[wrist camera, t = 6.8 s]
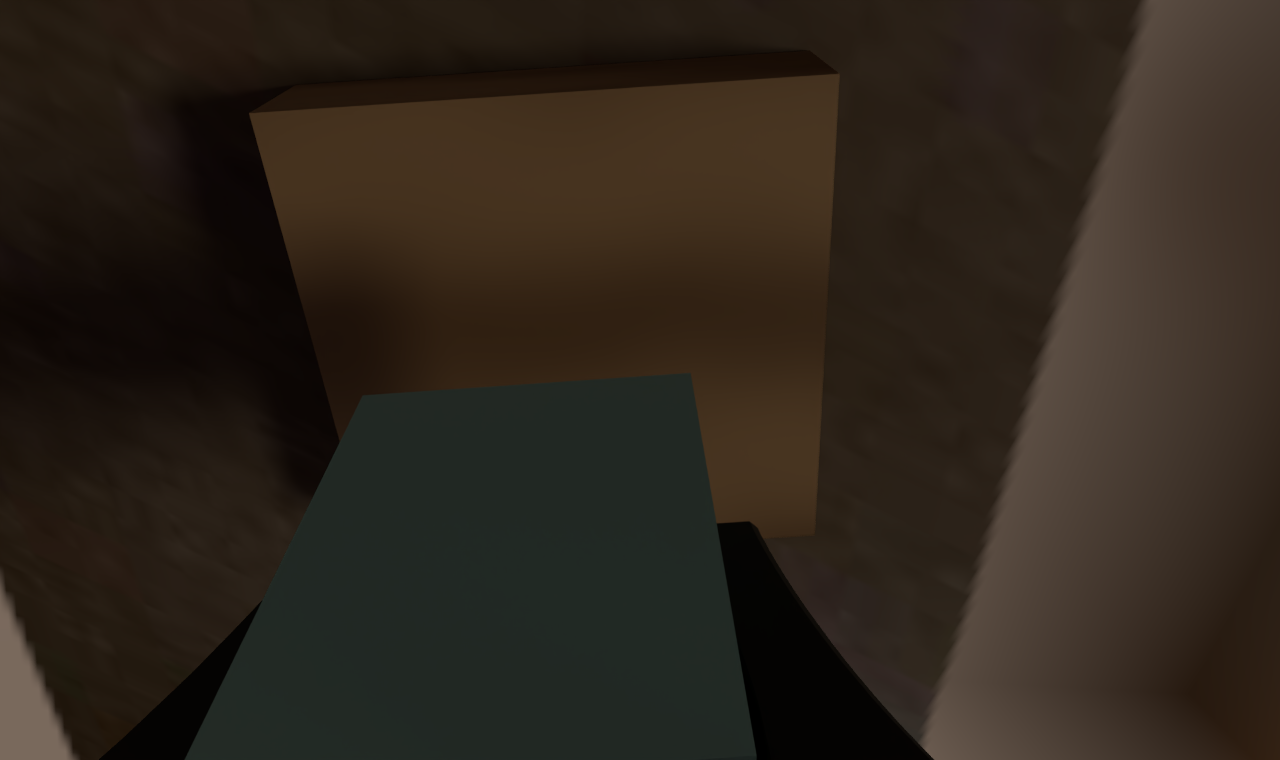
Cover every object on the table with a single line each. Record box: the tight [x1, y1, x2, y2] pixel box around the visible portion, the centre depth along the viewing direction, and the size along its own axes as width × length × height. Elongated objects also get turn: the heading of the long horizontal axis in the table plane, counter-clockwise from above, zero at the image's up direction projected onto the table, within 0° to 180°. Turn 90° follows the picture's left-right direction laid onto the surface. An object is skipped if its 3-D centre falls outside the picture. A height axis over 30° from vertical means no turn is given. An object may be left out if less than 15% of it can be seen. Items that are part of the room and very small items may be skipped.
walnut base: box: [249, 51, 840, 539], centre depth 18 cm, size 10×10×2 cm
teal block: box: [185, 373, 757, 760], centre depth 10 cm, size 4×4×6 cm
